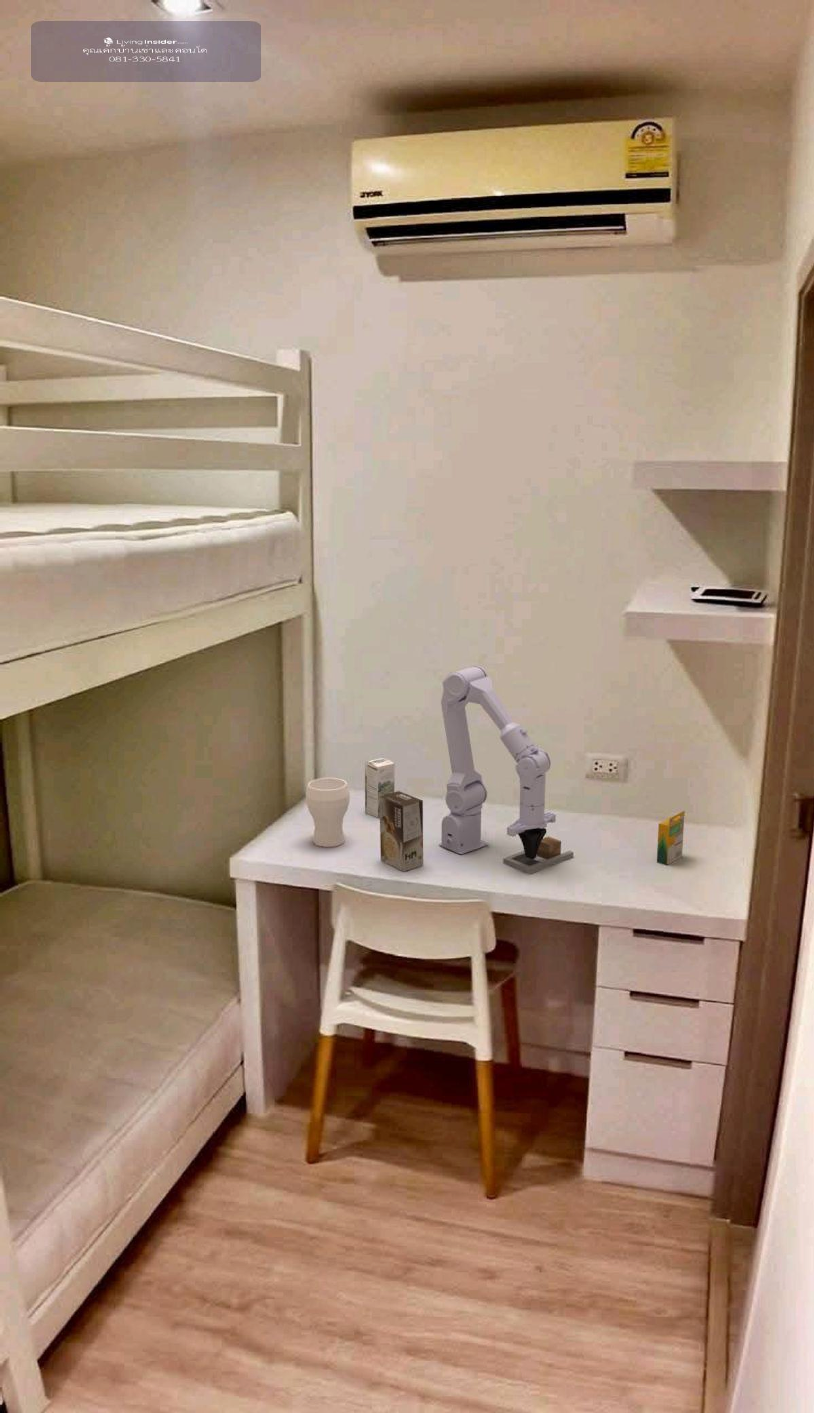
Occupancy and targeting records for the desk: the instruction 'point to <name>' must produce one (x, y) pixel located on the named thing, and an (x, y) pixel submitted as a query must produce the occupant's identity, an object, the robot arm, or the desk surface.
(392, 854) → the coffee box
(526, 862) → the pad
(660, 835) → the crayon box
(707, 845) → the desk surface
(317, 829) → the cup
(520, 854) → the guide channel
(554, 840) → the walnut block
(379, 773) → the syrup box
